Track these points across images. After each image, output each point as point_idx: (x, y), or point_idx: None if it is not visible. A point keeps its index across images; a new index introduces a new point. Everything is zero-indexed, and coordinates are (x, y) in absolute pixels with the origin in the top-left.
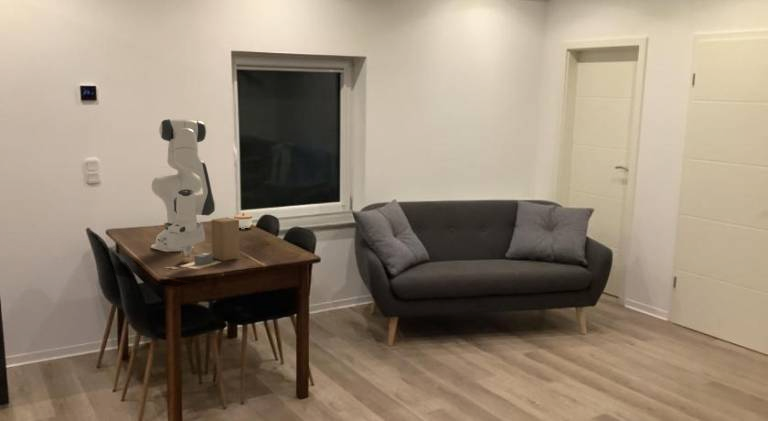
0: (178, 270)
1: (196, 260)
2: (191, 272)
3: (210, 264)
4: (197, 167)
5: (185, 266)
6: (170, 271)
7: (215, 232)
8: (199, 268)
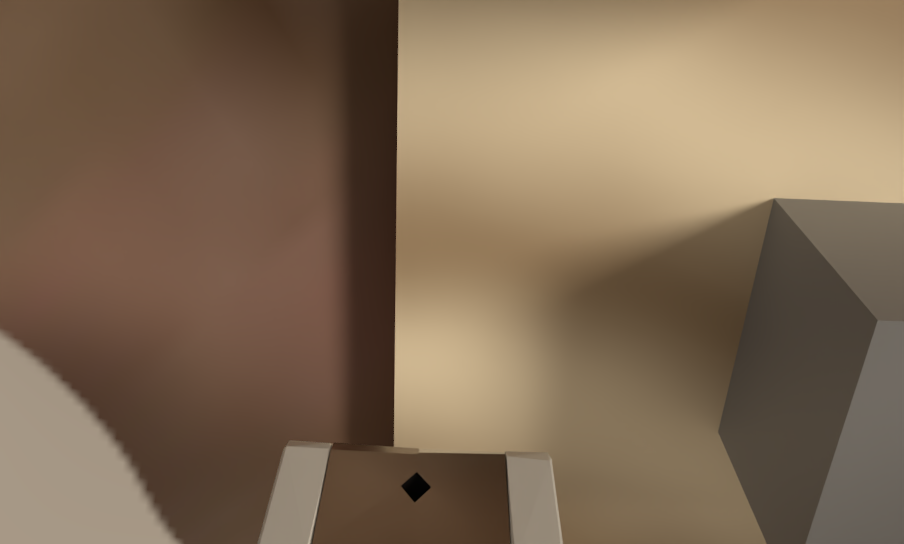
0: (207, 123)
1: (796, 316)
2: (261, 459)
3: None
4: None
5: (438, 174)
6: (3, 13)
7: None
8: None
